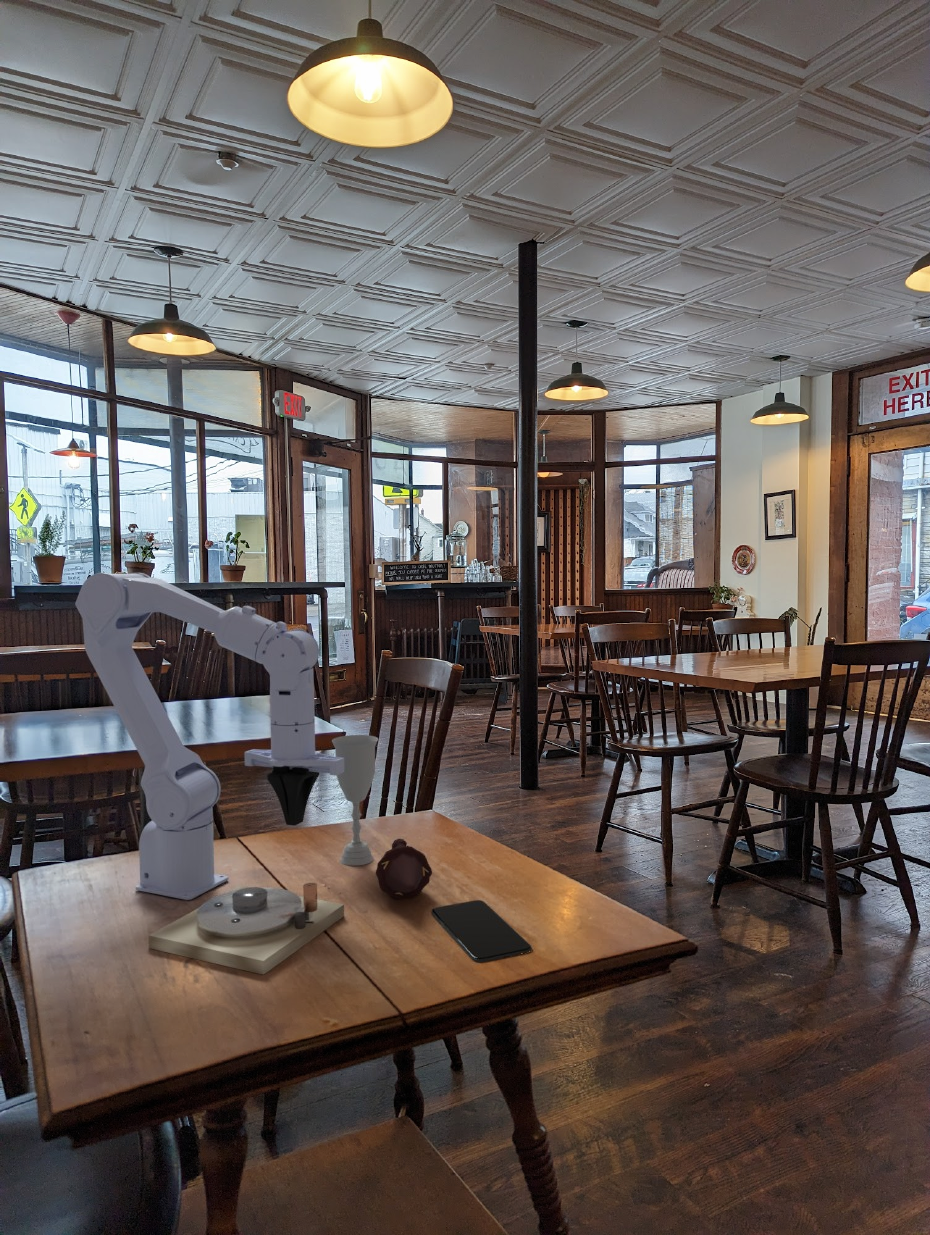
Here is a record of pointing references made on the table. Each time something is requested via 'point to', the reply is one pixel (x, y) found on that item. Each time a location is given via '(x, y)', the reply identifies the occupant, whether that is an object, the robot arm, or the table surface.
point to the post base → (244, 939)
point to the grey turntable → (254, 911)
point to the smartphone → (480, 931)
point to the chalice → (356, 788)
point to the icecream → (403, 871)
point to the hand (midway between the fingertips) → (294, 823)
